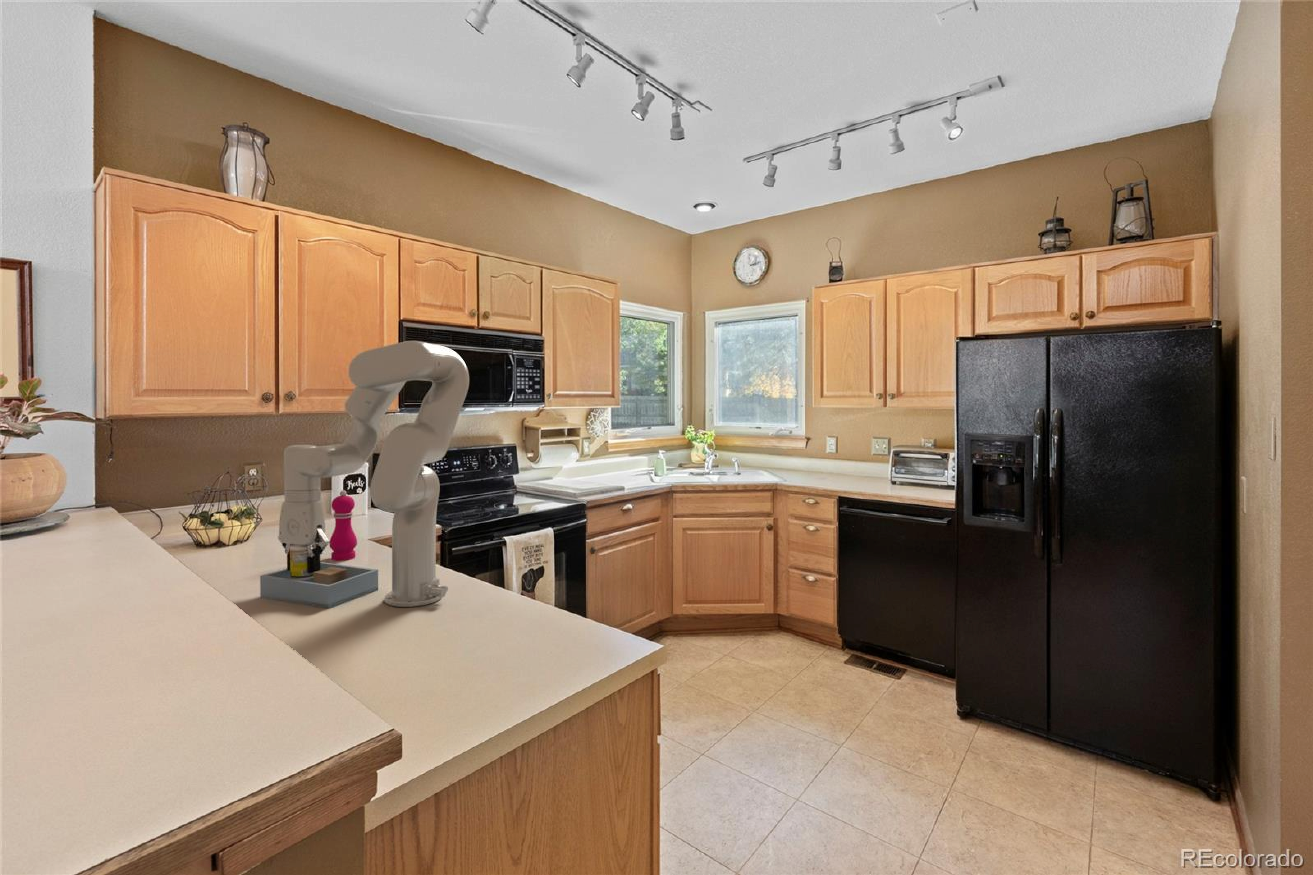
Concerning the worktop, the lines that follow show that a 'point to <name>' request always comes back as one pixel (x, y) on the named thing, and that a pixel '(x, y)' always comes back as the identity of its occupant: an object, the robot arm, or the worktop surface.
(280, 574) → the tote
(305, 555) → the supplement bottle
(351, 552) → the pepper mill
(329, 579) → the walnut cube
